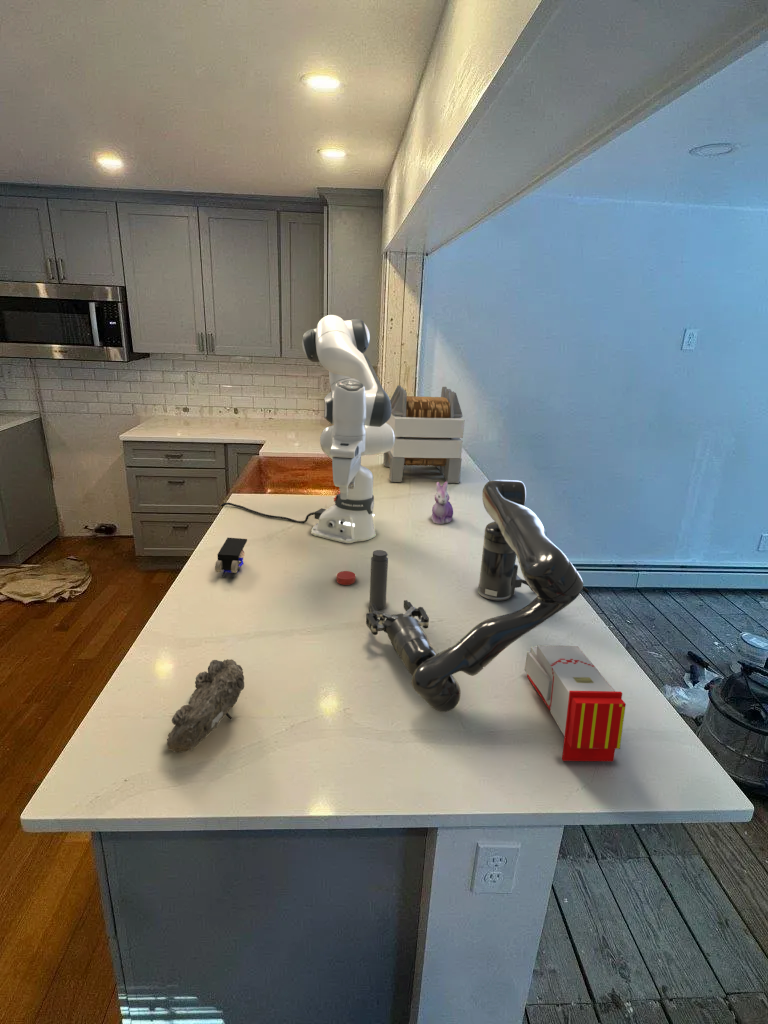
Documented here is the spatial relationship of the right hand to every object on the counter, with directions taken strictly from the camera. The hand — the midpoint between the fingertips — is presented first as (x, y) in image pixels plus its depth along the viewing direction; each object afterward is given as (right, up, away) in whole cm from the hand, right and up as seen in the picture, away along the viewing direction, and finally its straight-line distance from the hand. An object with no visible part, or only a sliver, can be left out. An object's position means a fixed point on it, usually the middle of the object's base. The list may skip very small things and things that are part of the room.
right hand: (388, 605), depth 140 cm
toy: (+35, -17, -26) cm, 47 cm away
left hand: (-11, +28, +15) cm, 34 cm away
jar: (-3, -2, +11) cm, 12 cm away
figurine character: (-46, +6, +27) cm, 54 cm away
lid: (-12, +5, +23) cm, 27 cm away
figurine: (+21, +20, +74) cm, 80 cm away
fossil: (-34, -16, -32) cm, 49 cm away
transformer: (+16, +42, +135) cm, 142 cm away
